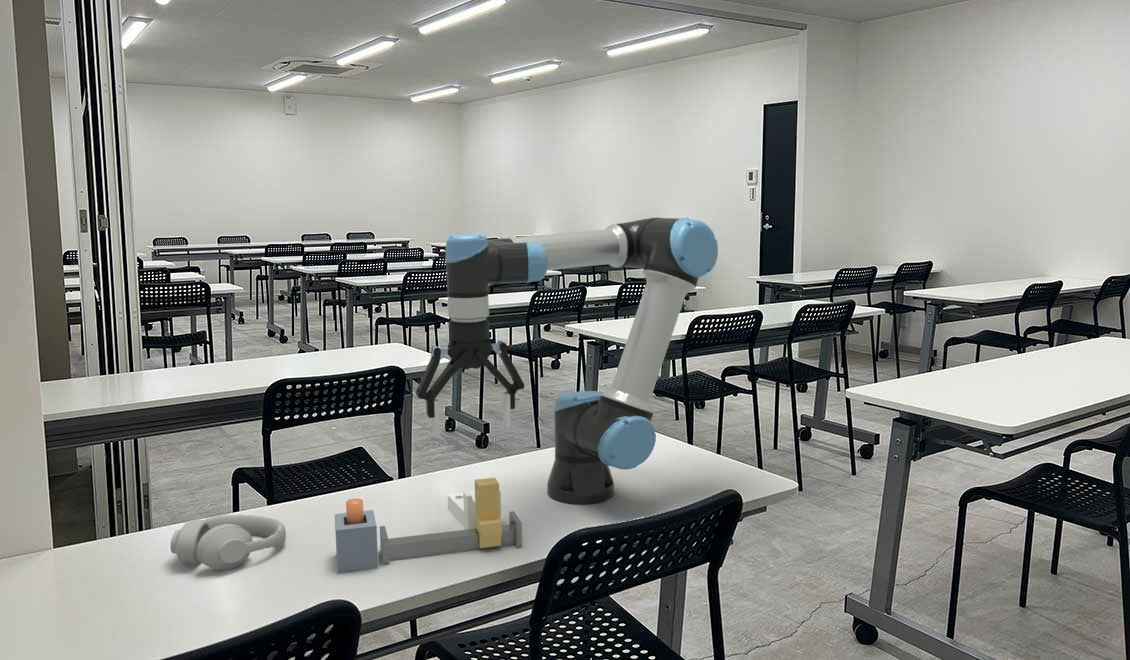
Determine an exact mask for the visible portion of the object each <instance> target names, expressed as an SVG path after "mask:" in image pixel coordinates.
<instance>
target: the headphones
mask: <svg viewBox="0 0 1130 660" xmlns="http://www.w3.org/2000/svg"><path fill="white" fill-rule="evenodd" d="M256 535H257V536H259V537H264V538H263V539H257V540H253V537H252V536H256ZM286 537H287V532H286V527H285V525H284V523H283V522H281V521H280V520H279V519H275V518H272V517H267V516H261V515H253V514H243V513H241V514H237V513H236V514H219V515H213V516H211V517H210V516H209V517H207V518H205V519H191V520H188V521H186V522H185V523H184V525H183V526H182V527H181V528H180V529H178V530H175V531H174V533H173V534H172V537H171V540H170V552H171V553H172V554H175V555H176V558H177V560H178V562H179V563H180V564H181V565H195V566H196V565H197V566H198V565H200V564H202V565H205V566H206V567H208V568H210V569H212V570H216V571H228V570H231V569H234V568H237V567H238V566H240V565H241V564H243V563H244V562H245V561H246V560H247V559H248V557H249V556H250V554H251V553H253V552H256V551H262V550H264V549H270V548H272V547H274V548H276V549H280V548H282V547H283V546H284V544H285V542H286Z"/></svg>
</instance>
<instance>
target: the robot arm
mask: <svg viewBox="0 0 1130 660" xmlns="http://www.w3.org/2000/svg"><path fill="white" fill-rule="evenodd" d="M445 242H446V243H445V259H444V261H445V268H446V269H445V270H446V287H447V291H446V292H447V317H448V318H450V319H449V321H448V322H447V324H448V345H447V347H442V346H441V347H440V346H438V345H433V346H432V347H431V353H430V354H431V356H430V359H429V362H428V363H427V366H426V369H425V370H424V373H423V374H422V378H421V379H420V382H419V383H418V386H417V389H416V391H415V395H416V396H417V397H418V399H420V400H425V405H426V407H425V408H426V415H427V417H428V418H429V419H432V432H433V434H434V435H435V437H438V436H441V429H440V426H441V425H440V407H439V405H440V401H439V400H438V399H437V397H438V395H439V394H440V393H441V391H442V390H443V389H444V387H445V386H446V385H447V384H448V382H449V381H450V380H451V378H452V377H453V375H454V374H456V373H457V372H458V371H459V369H462V370H469V369H474V370H475V369H480V368H481V367H483V366H484V367H485V369H486V370H488V372H489V373H490V374H491V375H492V376H493V377H494V378H495V379H496V380H497V381H498V382H499V384H500V385H501V386H502V387H503V388H504V389H505V391H502V393H501V395H502V425H503V426H504V427H505V428H507V429H510V428H511V427H512V425H511V424H512V423H511V421H512V420H511V418H512V417H511V415H512V414H511V410H515V408H516V394H517V392H518V391H520V390H524V388H525V383H524V382H523V380H522V378H521V376H520V374H519V373H518V370H517V369H516V367H515V365H514V363H513V360H512V359H511V357H510V355H509V353H508V345H507V343H505V342H504V341H502V340H499V341H497V342H496V343H492V342H490V341H491V340H490V338H491V337H490V320H488V317H489V315H490V309H489V308H490V307H489V285H491V286H495V285H504V284H505V285H506V284H521V283H526V284H529V283H533V282H538V281H539V282H540V281H541V280H543V279H544V278H545V276H546V275H547V271H553V270H554V271H556V270H563V269H566V270H567V269H572V268H573V269H575V268H583V267H584V268H585V267H592V266H593V267H594V266H602V265H603V266H604V265H609V266H610V267H612V268H616V269H617V268H624V267H625V268H634V269H635V268H637V269H642V273H643V275H644V278H645V281H646V283H645V287H644V290H643V292H642V296H641V298H640V300H639V301H640V302H639V305H638V308H637V311H636V313H635V316H634V319H633V322H632V325H631V328H630V332H629V334H628V336H627V340H626V343H625V345H624V349H623V352H622V354H621V358H620V360H619V363H618V366H617V370H616V372H615V375H614V378H613V380H612V384H611V387H610V389H608V390H606V391H600V390H599V391H598V390H585V391H573V392H566V393H563V394H560V395H558V396H557V397H556V399H555V401H554V410H553V413H554V461H553V463H552V464H553V465H552V467H551V470H550V473H549V476H548V479H547V488H546V489H547V495H548V496H549V497H550V498H551V499H554V500H556V501H558V502H563V503H566V504H567V503H568V504H575V505H578V504H579V505H580V504H581V505H585V504H587V505H588V504H596V503H599V502H600V503H601V502H604V501H606V500H609V499H611V498H612V497H613V496H614V495H615V481H614V478H613V476H612V472H611V470H610V467H613V468H616V469H619V470H632V469H635V468H637V467H638V466H639V465H642V464H643V463H644V462H646V460H647V459H648V458H649V457H650V456H651V454H652V453H653V450H654V448H655V445H656V440H657V434H656V432H655V430H656V429H655V426H654V425H653V424H652V418H653V415H654V412H655V411H654V409H653V407H652V404H651V398H652V395H653V393H654V390H655V386H656V385H657V384H656V383H657V381H658V378H659V374H660V372H661V368H662V365H663V363H664V360H665V357H666V354H667V352H668V351H667V350H668V348H669V345H670V342H671V339H672V336H673V333H674V330H675V327H676V325H677V324H676V323H677V321H678V319H679V315H680V312H681V308H682V306H683V303H684V301H685V297H686V296H687V294H688V293H690V292H692V291H694V290H695V289H696V288H697V285H698V282H699V279H700V278H701V277H703V276H705V275H707V274H708V273H710V272H711V271H712V270H713V269H714V267H715V265H716V263H717V260H718V255H719V245H718V244H719V243H718V240H717V239H716V237H715V233H714V231H713V229H712V228H711V227H710V226H709V225H708V224H706V223H705V222H703V221H702V220H699V219H698V220H697V219H691V218H689V217H682V218H673V217H672V218H671V217H649V218H643V219H638V220H633V221H627V222H620V223H611V224H609V225H608V226H607V227H606V228H605V229H595V230H594V229H593V230H585V231H573V232H572V231H571V232H562V233H551V234H549V233H548V234H537V235H529V236H528V235H525V236H514V237H507V238H493V239H488V238H487V236H486V235H485V234H481V233H468V234H464V233H463V234H461V233H459V234H452V235H449V237H448V238H446V241H445ZM493 351H494V353H495V354H497V355H499V358H500V360H501V361H502V363H503V365H504V366H505V369H506V371H507V372H508V374H509V377H510V378H511V380H512V382H513V383H511V382H509V380H508V379H507V378H506V377H505V376H504V375H503V374H502V373H501V371H499V370H498V368H497V367H496V366H495V365H494V364H493V363H492V362H491V360H489V357H490V355H491V354H492V352H493ZM445 355H447V356H449V358H450V360H449V362H448V363H447V364H446V367H445V369H443V371H442V372H441V374H440V375H439V376H438V377H437V378H436V380H435V381H434V382H433V384H432V385H431V382H432V380H433V379H434V376H435V373H436V372H437V370H438V367H439V365H440V362H441V360H443V359H444V357H445ZM430 385H431V386H430Z"/></svg>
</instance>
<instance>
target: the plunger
mask: <svg viewBox="0 0 1130 660" xmlns="http://www.w3.org/2000/svg"><path fill="white" fill-rule="evenodd" d="M345 506H346V508H345V509H346V512H345V513H346V514H347V525H351V524H360V523H364V514H363V511H364V500H363V499H361V498H350V499H347V500H346V502H345Z"/></svg>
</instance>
